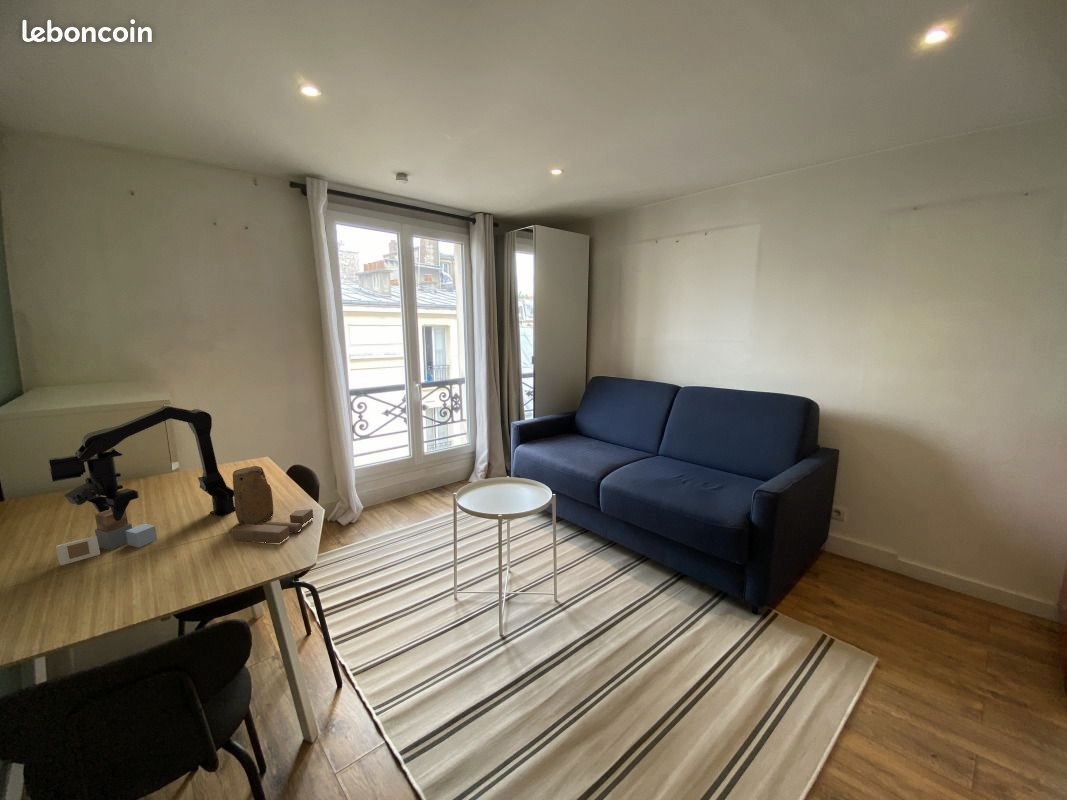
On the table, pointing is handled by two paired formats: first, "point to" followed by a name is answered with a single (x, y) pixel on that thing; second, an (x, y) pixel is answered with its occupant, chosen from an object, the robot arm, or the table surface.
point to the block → (252, 495)
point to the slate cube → (141, 535)
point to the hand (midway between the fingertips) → (111, 518)
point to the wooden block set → (272, 528)
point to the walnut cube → (109, 520)
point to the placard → (78, 550)
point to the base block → (112, 537)
